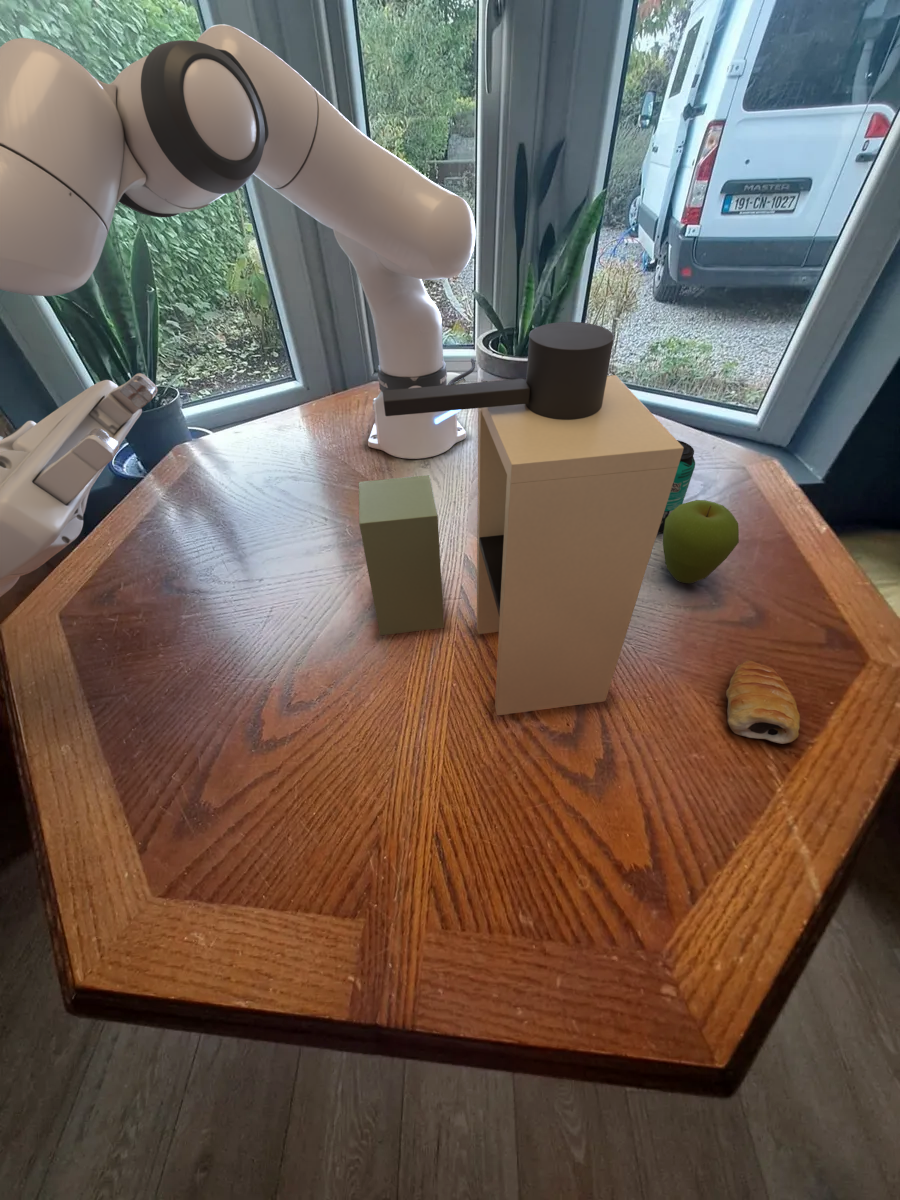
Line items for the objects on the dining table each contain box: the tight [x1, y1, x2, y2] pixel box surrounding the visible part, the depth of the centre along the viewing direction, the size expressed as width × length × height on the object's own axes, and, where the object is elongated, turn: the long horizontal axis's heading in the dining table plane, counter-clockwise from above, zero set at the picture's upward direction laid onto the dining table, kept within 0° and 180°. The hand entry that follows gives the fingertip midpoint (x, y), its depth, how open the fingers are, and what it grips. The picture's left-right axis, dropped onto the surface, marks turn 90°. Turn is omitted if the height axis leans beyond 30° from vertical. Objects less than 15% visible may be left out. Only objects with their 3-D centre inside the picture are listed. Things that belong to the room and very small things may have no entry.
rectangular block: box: [358, 474, 445, 636], centre depth 61 cm, size 8×8×17 cm
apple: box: [662, 499, 740, 584], centre depth 66 cm, size 9×8×12 cm
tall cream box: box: [476, 374, 684, 716], centre depth 50 cm, size 13×12×30 cm
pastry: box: [725, 660, 801, 745], centre depth 54 cm, size 9×7×4 cm
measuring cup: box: [383, 321, 615, 420], centre depth 39 cm, size 6×17×5 cm, turn 98°
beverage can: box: [658, 439, 696, 533], centre depth 75 cm, size 7×7×12 cm
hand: (129, 409), depth 37 cm, fingers open, 8 cm apart
